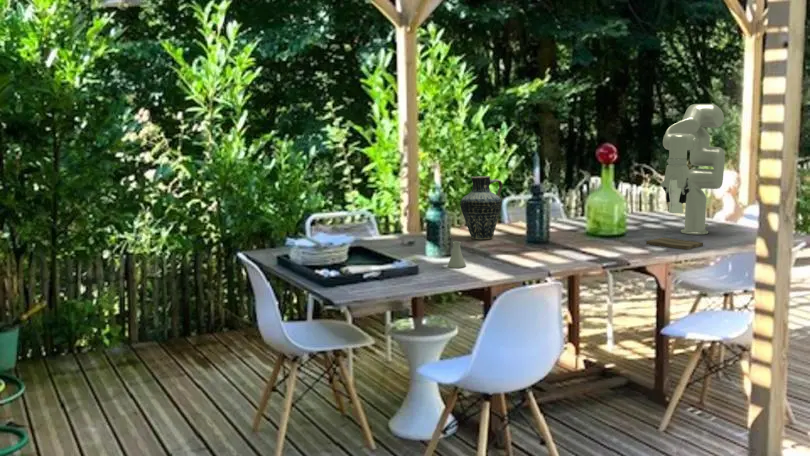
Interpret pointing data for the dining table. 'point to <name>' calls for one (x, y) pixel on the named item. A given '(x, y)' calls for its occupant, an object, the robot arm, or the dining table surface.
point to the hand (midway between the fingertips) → (676, 202)
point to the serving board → (675, 243)
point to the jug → (482, 208)
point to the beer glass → (675, 197)
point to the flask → (456, 257)
